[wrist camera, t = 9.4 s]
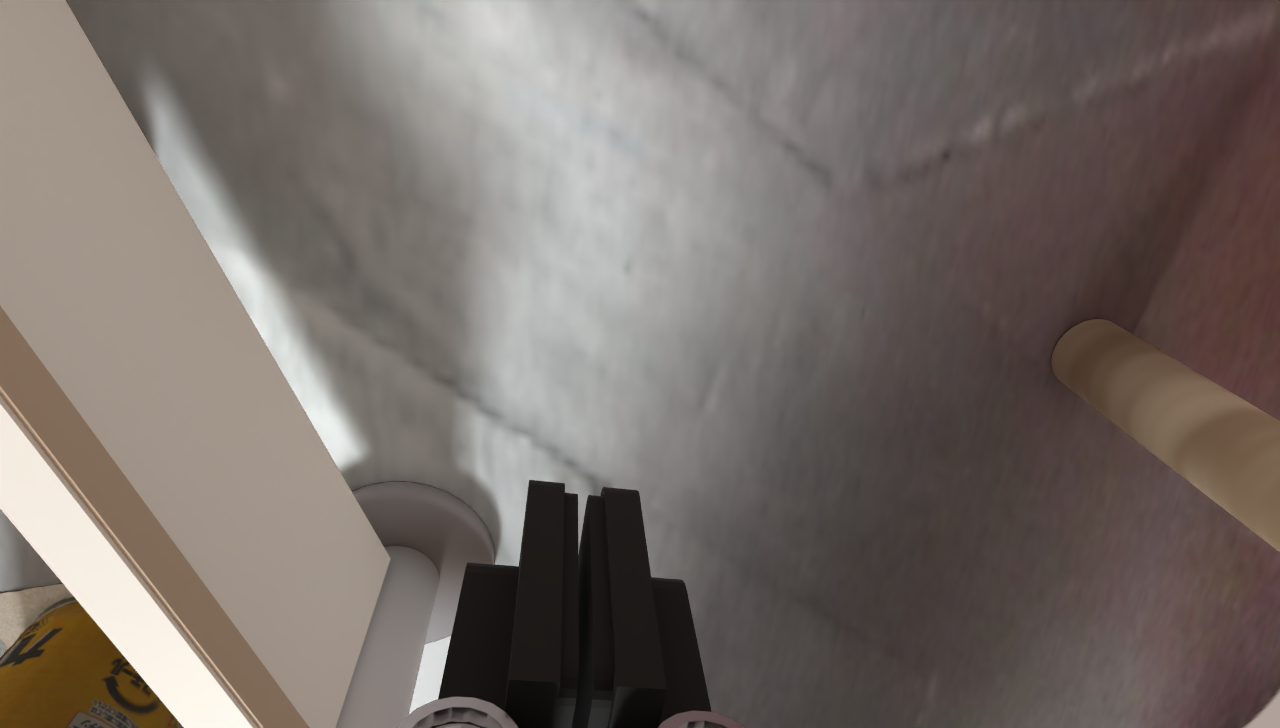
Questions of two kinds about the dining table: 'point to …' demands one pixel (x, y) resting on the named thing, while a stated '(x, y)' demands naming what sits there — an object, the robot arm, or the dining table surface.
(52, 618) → the condiment
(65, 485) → the gate
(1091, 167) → the dining table surface
